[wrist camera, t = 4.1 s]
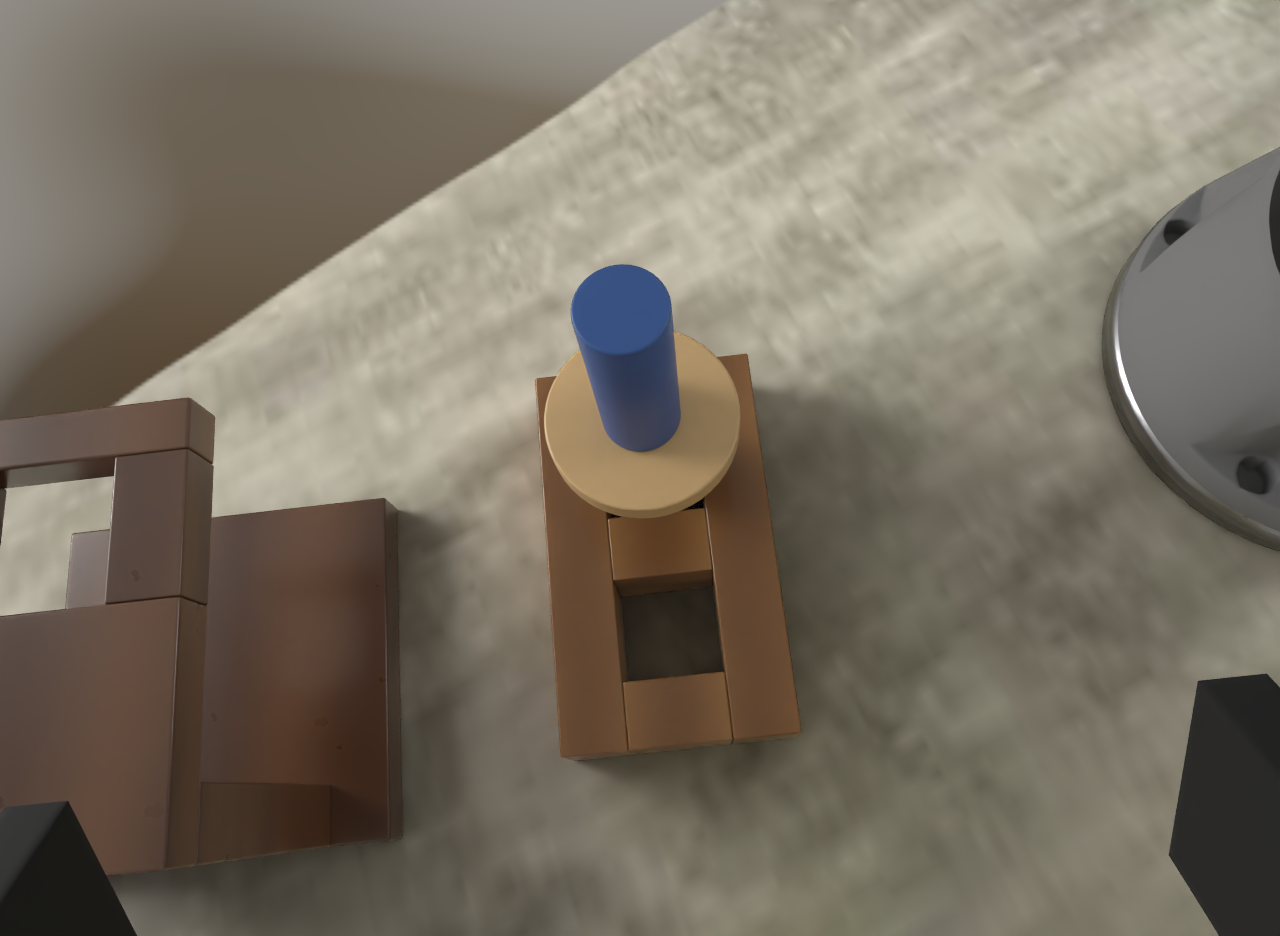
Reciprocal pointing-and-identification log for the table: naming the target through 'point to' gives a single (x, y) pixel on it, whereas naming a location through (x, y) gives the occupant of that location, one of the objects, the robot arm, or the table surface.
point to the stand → (201, 656)
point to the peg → (639, 402)
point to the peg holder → (661, 562)
